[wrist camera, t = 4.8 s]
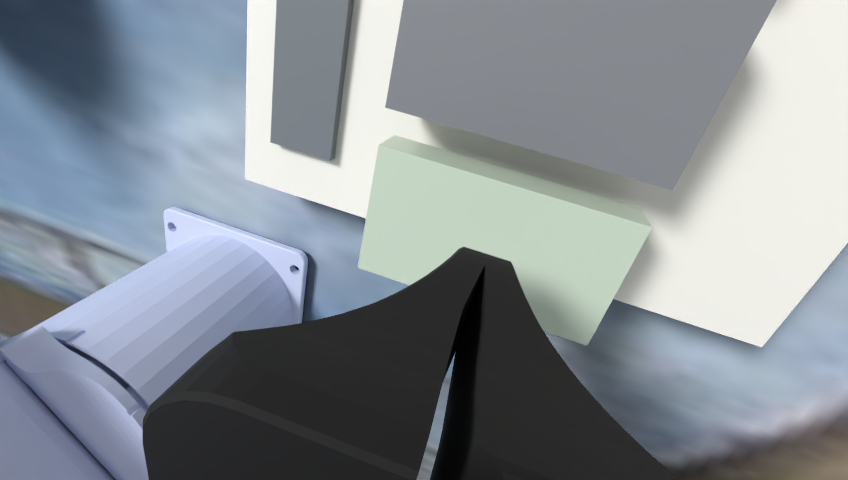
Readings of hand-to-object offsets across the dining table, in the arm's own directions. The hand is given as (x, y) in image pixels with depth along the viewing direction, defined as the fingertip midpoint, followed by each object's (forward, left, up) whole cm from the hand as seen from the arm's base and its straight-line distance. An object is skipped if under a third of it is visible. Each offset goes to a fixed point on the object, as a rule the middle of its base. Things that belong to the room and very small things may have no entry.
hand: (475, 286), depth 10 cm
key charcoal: (+5, 0, -4) cm, 7 cm away
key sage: (0, 0, -4) cm, 4 cm away
